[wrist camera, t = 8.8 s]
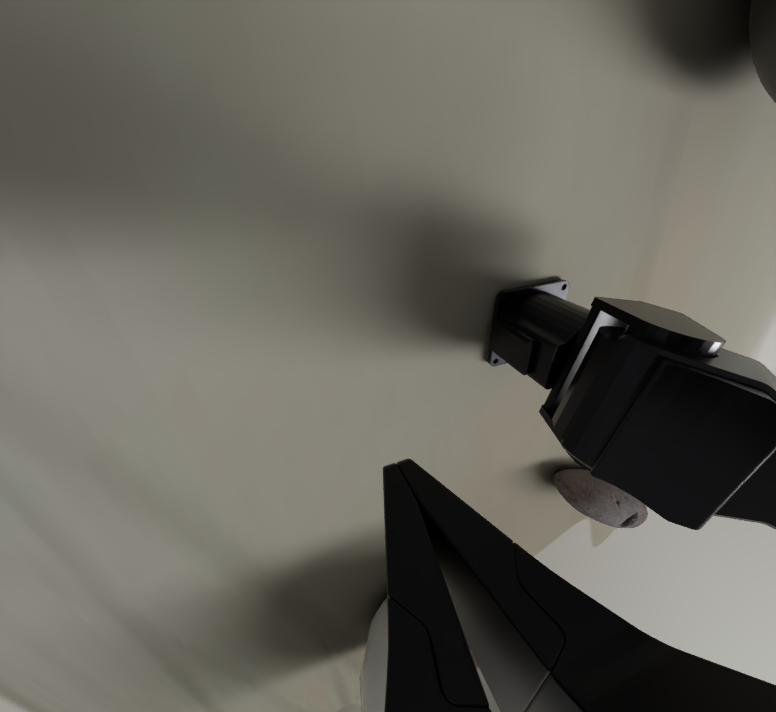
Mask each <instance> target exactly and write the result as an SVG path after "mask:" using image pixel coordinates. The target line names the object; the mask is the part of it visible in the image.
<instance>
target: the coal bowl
mask: <svg viewBox="0 0 776 712" xmlns="http://www.w3.org/2000/svg"><path fill="white" fill-rule="evenodd" d="M749 38H750V46H751V53H752V58H753V63H754V66H755V69H756V71H757V74H758V76H759V78H760V81H761V83H762V85H763V86H764V88H765V90H766V91H767V92H768V94H769V95H770V97H771V98H772V99H773V100H774V101H775V103H776V0H751V7H750V17H749Z"/></svg>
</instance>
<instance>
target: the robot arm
mask: <svg viewBox="0 0 776 712" xmlns="http://www.w3.org/2000/svg"><path fill="white" fill-rule="evenodd" d="M568 289H569V282H568V281H566V280H557V281H552V282H547V283H541V284H536V285H531V286H525V287H520V288H515V289H509V290H504V291H501V292H499V293H498V295H497V297H496V303H495V310H494V318H493V325H492V333H491V340H490V348H489V355H488V363H489V364H490V365H491V366H498V365H502V364H506V363H508V364H510V365H511V366H512V367H513V368H515V369H516V370H517V371H519V372H520V373H521V374H523V375H528V376H529V377H531V378H532V379H533V380H535V381H536V382H537V383H539V384H540V385H541V386H543V387H544V388H545V389H551V388H552V389H551V391H550V393H549V395H548V397H547V399H546V401H545V403H544V405H542V406H541V409H540V411H539V413H540V414H541V416H542V417H543V418H544V420H545V421H546V423H547V424H548V426H549V427H550V429H551V430H552V431H553V433H554V434H555V436H556V437H557V439H558V440H559V442H560V443H561V445H562V447H563V448H564V449H565V450H566V452H567V453H568V454H569V455H570V456H571V458H573V460H574V461H575V462H576V463H578V464H580V465H581V466H582V467H584V468H585V469H587V470H589V471H590V474H591V475H592V476H593V477H595V478H598V479H600V480H602V481H605V482H607V483H610V484H612V485H614V486H616V487H617V488H619V489H621V490H623V491H625V492H626V493H628V494H630V495H631V496H633V497H634V498H636V499H637V500H639V501H640V502H642V503H643V504H645V505H646V506H647V507H649V508H650V509H652V510H653V511H655V512H656V513H657V514H659V515H660V516H661V517H663V518H664V519H666V520H667V521H670V522H672V523H675V524H678V525H681V526H684V527H687V528H690V529H694V530H699V529H701V528H702V527H703V526H704V525H705V524H706V522H707V521H708V520H709V519H710V518H711V517H712V516H720V517H727V518H732V519H738V520H744V521H751V522H757V523H762V524H766V525H768V526H770V527H772V528H774V529H776V377H775V376H774V375H773V374H772V373H771V372H770V371H769V370H768V369H767V368H766V367H765V366H764V365H763V364H762V363H760V362H759V361H756V360H754V359H751V358H748V357H745V356H743V355H740V354H737V353H734V352H731V351H728V350H725V349H722V346H723V345H724V344H725V342H726V340H724V339H723V338H722V337H720V336H718V335H717V334H715V333H713V332H712V331H710V330H708V329H707V328H705V327H704V326H702V325H700V324H699V323H697V322H695V321H694V320H692V319H691V318H689V317H687V316H686V315H684V314H682V313H679V312H676V311H673V310H669V309H666V308H662V307H659V306H656V305H652V304H649V303H645V302H641V301H632V300H622V299H613V298H604V297H595V298H594V300H593V302H592V304H591V306H592V308H591V310H588V309H586V308H584V307H581V306H579V305H576V304H574V303H572V302H569V301H567V300H566V297H567V293H568ZM504 296H505V297H504ZM503 297H504V299H503ZM502 299H503V300H502ZM383 490H384V519H385V549H386V578H387V613H388V656H387V677H386V693H385V707H384V712H492V711H491V710H490V709H489V703H488V700H487V697H486V694H485V691H484V689H483V686H482V683H481V680H480V677H479V675H478V672H477V669H476V666H475V663H474V660H473V658H472V655H471V652H472V654H473V656H474V658H475V660H476V662H477V664H478V667H479V669H480V671H481V673H482V675H483V677H484V679H485V681H486V683H487V685H488V687H489V689H490V691H491V693H492V695H493V698H494V700H495V702H496V704H497V706H498V708H499V710H500V712H776V685H774V684H771V683H768V682H765V681H762V680H760V679H757V678H754V677H752V676H749V675H746V674H743V673H741V672H738V671H735V670H732V669H730V668H727V667H724V666H722V665H719V664H716V663H714V662H711V661H708V660H705V659H703V658H700V657H697V656H695V655H691V654H689V653H686V652H684V651H681V650H679V649H676V648H674V647H671V646H669V645H667V644H665V643H663V642H661V641H659V640H657V639H655V638H653V637H651V636H649V635H647V634H646V633H644V632H642V631H641V630H639V629H637V628H636V627H634V626H633V625H631V624H630V623H628V622H627V621H625V620H624V619H622V618H621V617H619V616H618V615H616V614H615V613H613V612H611V611H610V610H609V609H607V608H606V607H604V606H603V605H601V604H600V603H598V602H597V601H595V600H594V599H592V598H591V597H589V596H588V595H586V594H584V593H583V592H582V591H580V590H579V589H577V588H576V587H574V586H572V585H571V584H570V583H568V582H567V581H566V580H564V579H563V578H561V577H560V576H558V575H557V574H555V573H554V572H553V571H551V570H550V569H548V568H547V567H546V566H544V565H543V564H542V563H540V562H539V561H538V560H536V559H535V558H534V557H533V556H531V555H530V554H529V553H527V552H526V551H525V550H524V549H523V548H521V547H520V546H519V545H518V544H516V543H513V541H512V540H511V539H510V538H509V537H507V536H506V535H505V534H504V533H502V532H501V531H500V530H499V529H497V528H496V527H495V526H494V525H492V524H491V523H490V522H489V521H487V520H486V519H485V518H484V517H482V516H481V515H480V514H479V513H477V512H476V511H475V510H474V509H472V508H471V507H470V506H469V505H467V504H466V503H465V502H464V501H462V500H461V499H460V498H459V497H457V496H456V495H455V494H454V493H452V492H451V491H450V490H449V489H447V488H446V487H445V486H444V485H442V484H441V483H440V482H439V481H437V480H436V479H435V478H434V477H432V476H431V475H430V474H429V473H427V472H426V471H425V470H424V469H423V468H421V467H420V466H419V465H418V464H416V463H415V462H414V461H413V460H411V459H405V460H402V461H399V462H397V464H396V463H393V464H390V465H387V466H384V467H383ZM469 648H470V649H469ZM470 650H471V652H470Z"/></svg>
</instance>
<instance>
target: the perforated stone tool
mask: <svg viewBox="0 0 776 712" xmlns="http://www.w3.org/2000/svg"><path fill="white" fill-rule="evenodd" d="M554 482H555V485H556V487H557V489H558V491H559V492H560V494H561V495H562V496H563V497H564V499H565V500H566V501H567V502H568V503H569V504H570V505H571V506H573V507H574V508H575V509H576V510H578V511H579V512H581V513H582V514H584V515H586V516H588V517H590V518H592V519H594V520H596V521H599V522H601V523H603V524H606V525H609V526H612V527H616V528H634V527H637V526H639V525H640V524H642V523H643V522H644V521H645V520H646V518H647V514H648V513H647V509H646V506H645V504H643V503H642V502H640V501H639V500H637V499H636V498H634V497H633V496H631V495H630V494H628V493H626V492H625V491H623V490H621V489H619V488H617V487H616V486H614V485H612V484H610V483H607V482H605V481H602V480H600V479H598V478H595V477H593V476H592V475H591V474H590V471H589V470H584V469H564V470H561V471H559V472H557V473H556V474H555V476H554Z"/></svg>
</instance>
